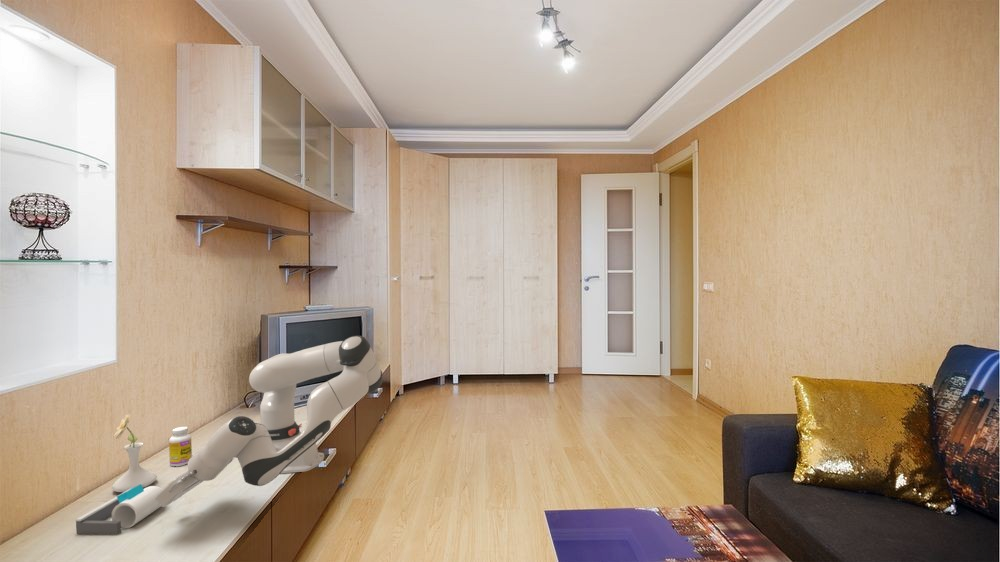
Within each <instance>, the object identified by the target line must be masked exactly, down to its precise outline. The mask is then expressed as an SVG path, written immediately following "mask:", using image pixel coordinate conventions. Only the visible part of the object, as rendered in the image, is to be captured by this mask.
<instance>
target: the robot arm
mask: <svg viewBox="0 0 1000 562" xmlns="http://www.w3.org/2000/svg"><path fill="white" fill-rule="evenodd" d="M339 372H341V373H340V374H339V375H337V376H335V377H333V378H331V379H329V380H327V381H325V382H324V383H321V384H320V385H318V386H317V387H315V388H314V389H313V390H312V391H311V392H310V393H309V396H308V399H307V402H306V425H305V427H304V429H303V430H302V432H301V431H300V429H301V428H302V423H300V424H299V425H298V424H297V422H296V420H295V419H296V418H295V397H296V391H297V386H298V385H297V384H300V383H303V382H306V381H309V380H312V379H315V378H316V379H317V378H321V377H323V376H324V377H325V376H327V375H331V374H334V373H335V374H336V373H339ZM383 380H384V379H383V371H382V370H381V367H380V363H379V361H378V358H377V356H376V355H375V353H374V351H373V349H372V347H371V344H370V342H369V341H368V340H367V338H366V337H364V336H362V335H352V336H349V337H347V338H345V339H344V340H340V341H334V342H333V341H332V342H329V343H325V344H321V345H316V346H312V347H308V348H304V349H301V350H298V351H294V352H291V353H288V352H287V353H279V354H275V355H274V356H272V357H270V358H267V359H265V360H263V361H261V362H259V363H258V364H256V366H254V368H253V369H252V370H251V372H250V374H249V377H248V383H249V385H250V387H251V388H252V389H253V390H254V391H255V392H257V393H263V397H262V399H261V402H260V406H259V412H260V415H259V417H260V418H259V419H260V423H257V422H255V421H254V420H253V419H252V418H250V417H248V416H245V415H244V416H243V415H240V416H239V415H238V416H235V417H233V418H230V419H229V420H228V421H226V422H225V423H223V425H221V426H220V427H219V428H217V430H216V431H215V432H214V433H213V434H212V435H211V436H210V437H209V439H208V441H207V442H206V443H204V444H203V445H202V446H201V447H200V448H199V449H198V450H197V451H195V453H193V455H192V457H191V458H190V459H189V461H188V464H187V471H185V472H184V473H182V474H180V475H178V476H176V478H174V479H173V480H172V481H171V482H169V483H168V484H167V485H166V486H165V487H164V488H162V491H161V492H160V493H159V494H158V495H157V496H156V501H157V502H158V503H159V504H160V505H161V507H162V508H165V507H167V506H170V504H172V503H174V502H175V501H177V500H178V499H180V498H181V497H182V496H184V495H185V494H187V493H188V492H190V491H192V489H194V488H196V487H197V486H199V485H200V484H201V483H203V482H208V481H213V480H214V479H216V478H217V477H218V476H219V475H220V474H221V472H222V471H224V470H225V469H226V467H227V466H228V465H229V464H231V463H232V462H233V460H234V459H235V458H236V459H237V460H238V463H239V465H240V468H241V472H242V477H243V480H244V482H245V483H247V484H249V485H251V486H256V487H262V486H265V485H268V484H269V483H271V482H272V481H273V480H275V479H276V478H277V477H278V476H279V475H280V474H290V473H291V474H292V473H293V474H294V473H300V472H301V473H303V472H308V471H311V470H312V469H314V468H316V467H318V466H319V465H320V464H322V462H323V461H324V459H325V452H319V451H318V450H319V449H318V445H317V443H318V442H319V441H320V439H322V438H323V437H324V436H325V435H326V434H327V433H328V432H329V431H330V430H331V426H332V423H333V421H334V419H336V418H337V416H338V415H339V414H341V413H342V412H344V411H346V410H347V409H349V408H350V407H352V406H353V405H355V404H356V403H358V402H359V401H360V400H361V399H362V398H364V397H365V396H366V394H370V393H372V392H374V391H377V390H378V388H380V387H381V385H382V383H383V382H384V381H383Z"/></svg>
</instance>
